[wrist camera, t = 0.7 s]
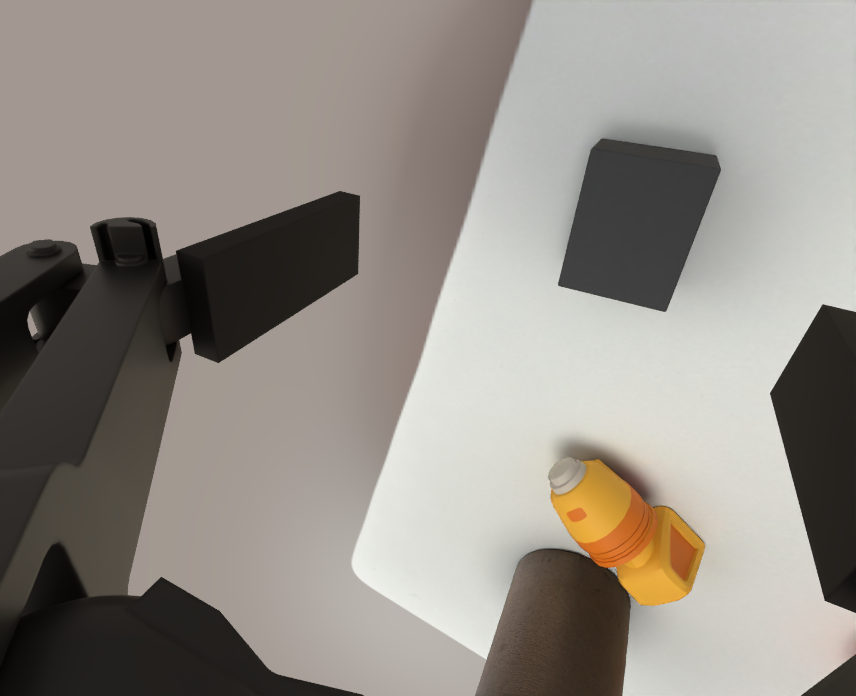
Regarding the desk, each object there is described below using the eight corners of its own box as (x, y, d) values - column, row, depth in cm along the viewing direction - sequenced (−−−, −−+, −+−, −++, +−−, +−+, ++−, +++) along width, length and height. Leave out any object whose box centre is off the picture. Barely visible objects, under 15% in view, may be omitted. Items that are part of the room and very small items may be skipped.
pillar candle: (618, 553, 38) (588, 775, 26) (640, 638, 42) (623, 867, 30) (502, 543, 43) (434, 725, 31) (530, 619, 47) (479, 809, 35)
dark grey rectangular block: (601, 137, 25) (590, 148, 23) (717, 155, 24) (721, 168, 21) (569, 264, 29) (557, 286, 26) (667, 287, 27) (665, 312, 25)
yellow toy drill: (539, 456, 37) (646, 567, 38) (519, 508, 33) (640, 633, 33) (597, 426, 34) (713, 548, 34) (583, 479, 29) (716, 619, 30)
